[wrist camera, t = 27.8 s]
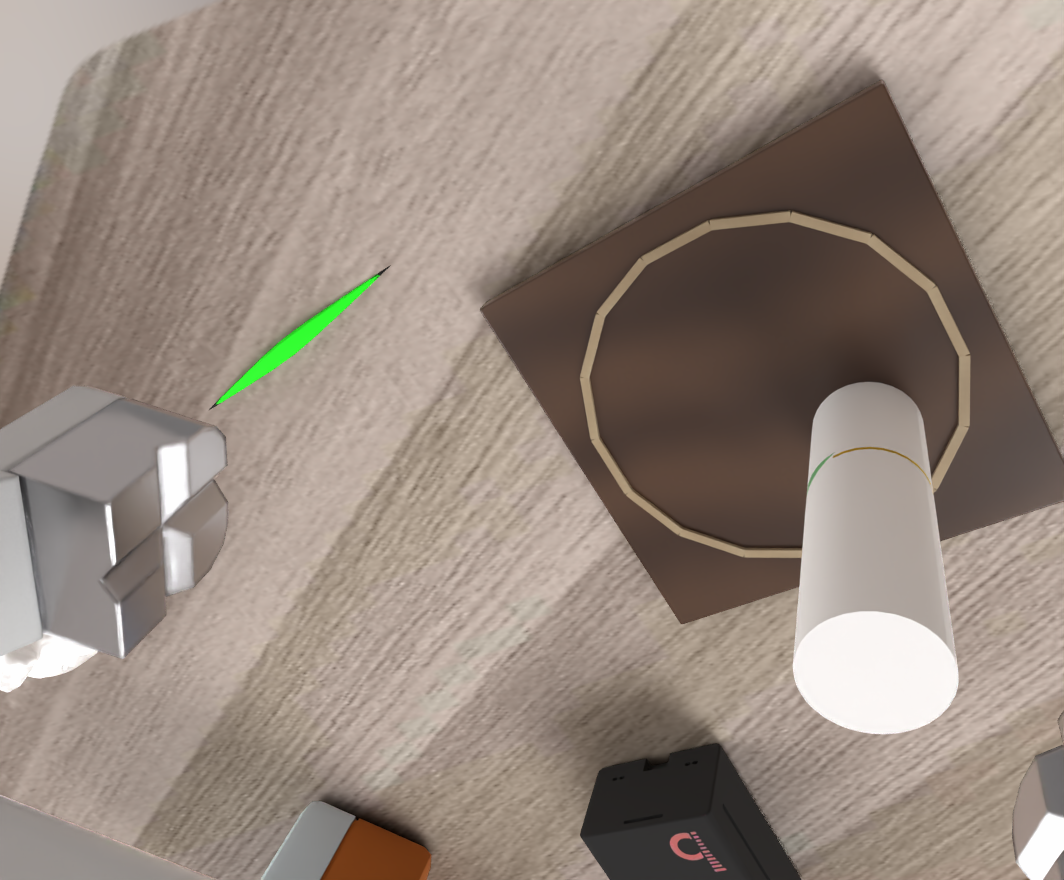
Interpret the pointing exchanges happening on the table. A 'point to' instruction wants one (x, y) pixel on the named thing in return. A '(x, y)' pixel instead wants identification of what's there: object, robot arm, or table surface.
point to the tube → (872, 569)
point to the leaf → (296, 340)
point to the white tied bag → (41, 661)
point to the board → (774, 354)
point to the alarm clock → (345, 850)
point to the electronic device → (681, 822)
